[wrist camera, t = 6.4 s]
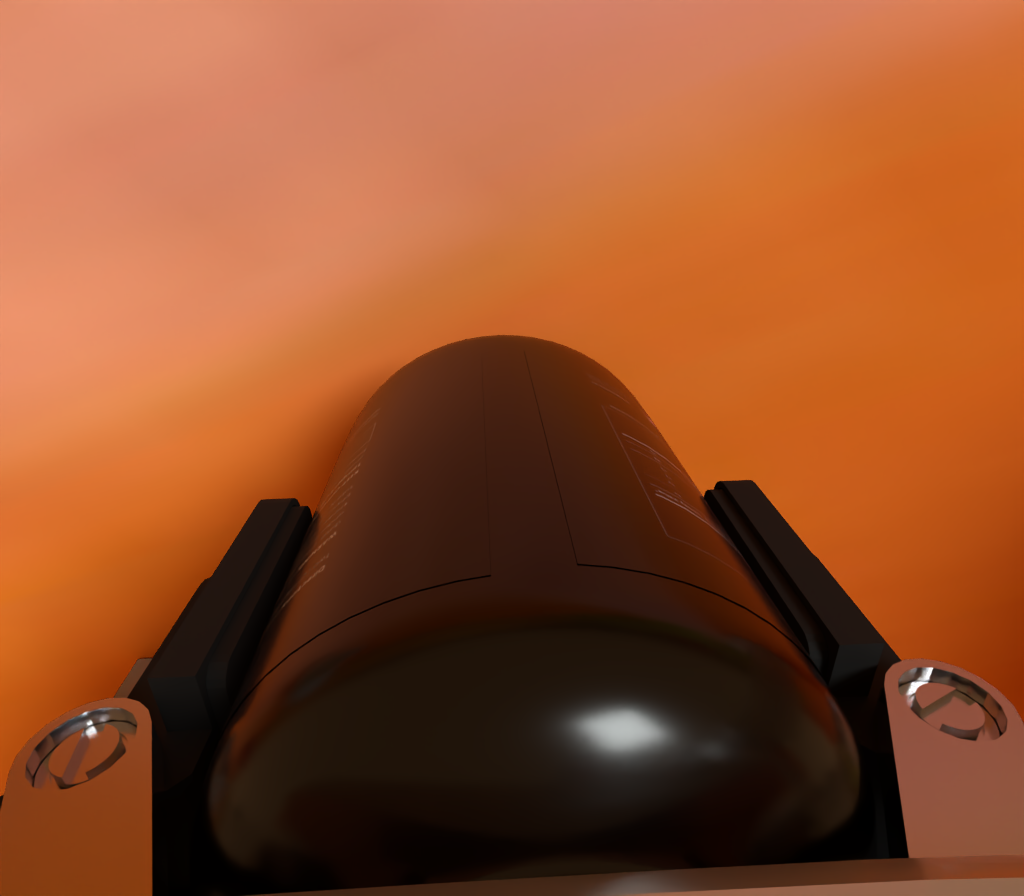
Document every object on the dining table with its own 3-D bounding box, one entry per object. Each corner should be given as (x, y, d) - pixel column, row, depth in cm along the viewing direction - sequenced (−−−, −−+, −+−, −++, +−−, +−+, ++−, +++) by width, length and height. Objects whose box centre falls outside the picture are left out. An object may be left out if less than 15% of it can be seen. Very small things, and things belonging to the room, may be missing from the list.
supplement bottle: (461, 640, 16) (416, 1715, 5) (281, 435, 13) (-666, 1791, 2) (707, 514, 14) (1385, 1611, 4) (563, 256, 12) (1510, 1512, 1)
